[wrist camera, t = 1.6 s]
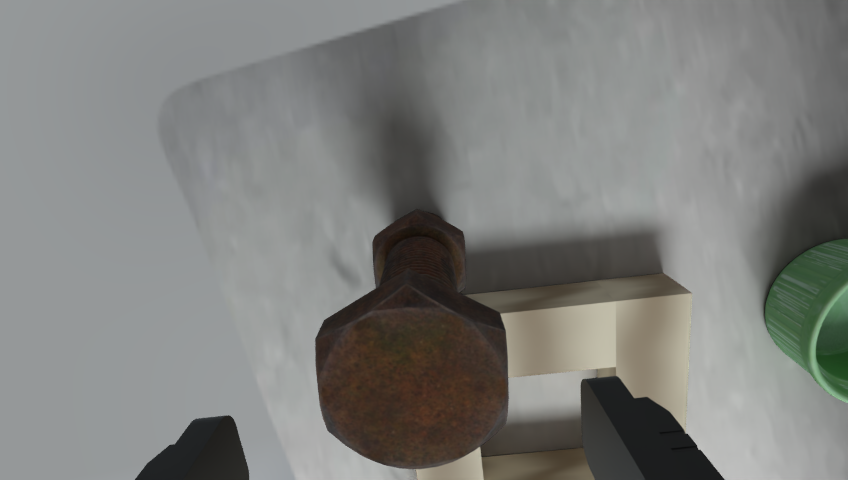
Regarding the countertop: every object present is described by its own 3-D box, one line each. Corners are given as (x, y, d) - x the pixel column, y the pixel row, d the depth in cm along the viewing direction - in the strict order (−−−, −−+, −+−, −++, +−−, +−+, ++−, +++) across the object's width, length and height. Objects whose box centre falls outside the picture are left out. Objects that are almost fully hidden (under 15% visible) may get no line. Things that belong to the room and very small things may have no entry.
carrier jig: (663, 273, 27) (692, 293, 24) (657, 488, 31) (681, 527, 28) (397, 302, 27) (393, 325, 25) (428, 509, 32) (428, 548, 29)
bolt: (374, 188, 26) (303, 293, 11) (463, 184, 25) (508, 284, 11) (382, 284, 27) (330, 484, 13) (466, 280, 27) (508, 477, 13)
